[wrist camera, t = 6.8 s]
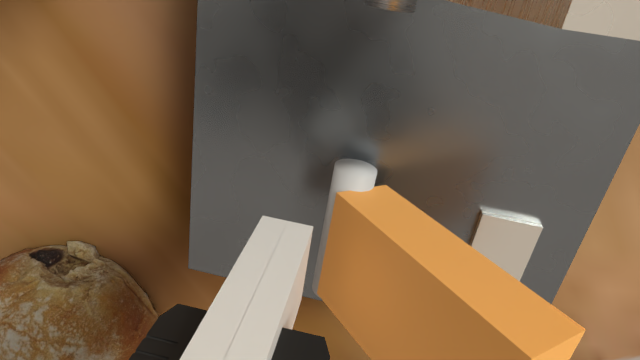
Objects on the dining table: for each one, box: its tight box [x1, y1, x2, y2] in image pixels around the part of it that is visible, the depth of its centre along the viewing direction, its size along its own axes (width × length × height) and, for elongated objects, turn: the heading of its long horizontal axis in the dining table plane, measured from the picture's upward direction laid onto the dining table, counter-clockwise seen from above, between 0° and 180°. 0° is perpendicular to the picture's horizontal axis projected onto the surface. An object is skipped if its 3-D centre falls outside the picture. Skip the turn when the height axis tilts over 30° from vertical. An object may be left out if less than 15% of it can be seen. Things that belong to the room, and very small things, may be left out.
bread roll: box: [0, 241, 158, 360], centre depth 25 cm, size 10×10×8 cm
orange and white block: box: [312, 159, 586, 360], centre depth 13 cm, size 2×5×8 cm
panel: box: [188, 0, 640, 304], centre depth 12 cm, size 14×18×12 cm
